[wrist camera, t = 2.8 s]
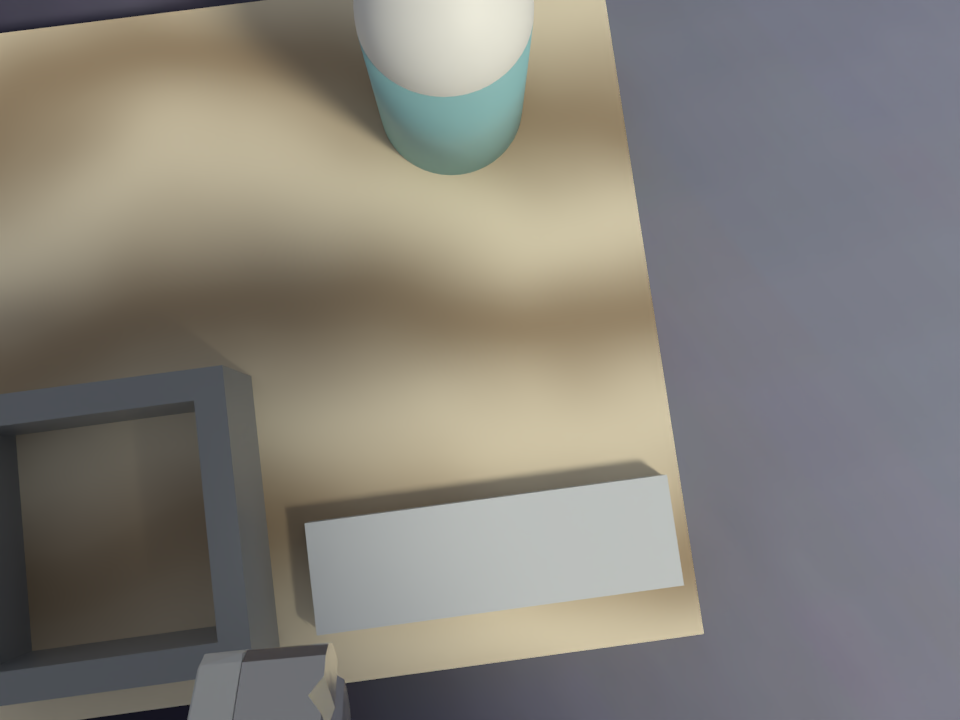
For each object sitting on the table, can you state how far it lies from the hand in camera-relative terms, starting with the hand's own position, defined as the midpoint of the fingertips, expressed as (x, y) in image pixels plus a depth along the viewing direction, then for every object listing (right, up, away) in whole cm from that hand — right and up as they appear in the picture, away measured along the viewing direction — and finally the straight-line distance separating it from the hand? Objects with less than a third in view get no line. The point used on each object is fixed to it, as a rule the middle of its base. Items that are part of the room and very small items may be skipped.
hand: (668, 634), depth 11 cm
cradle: (-12, -1, +15) cm, 19 cm away
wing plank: (-2, -2, +15) cm, 15 cm away
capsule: (-3, +11, +16) cm, 20 cm away
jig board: (-7, +4, +17) cm, 19 cm away
